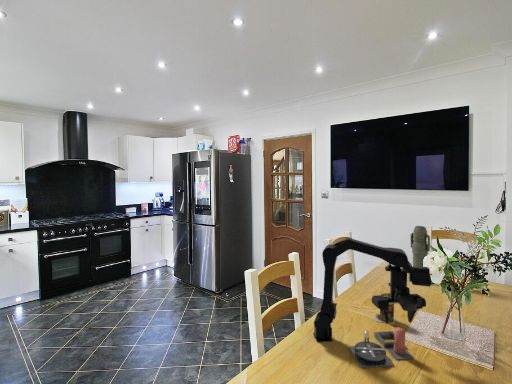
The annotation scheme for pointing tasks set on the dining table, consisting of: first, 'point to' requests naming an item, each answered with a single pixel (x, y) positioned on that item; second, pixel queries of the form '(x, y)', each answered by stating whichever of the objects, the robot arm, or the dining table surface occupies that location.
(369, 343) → the handwheel
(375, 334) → the collar
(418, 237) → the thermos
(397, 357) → the mat
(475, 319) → the dining table surface
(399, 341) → the pink rounded cylinder
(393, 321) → the condiment
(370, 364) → the wheel base
